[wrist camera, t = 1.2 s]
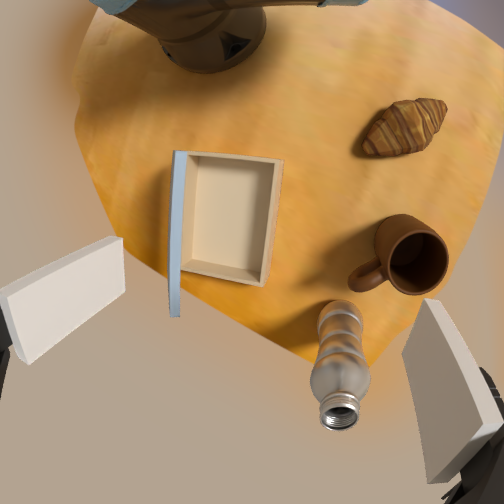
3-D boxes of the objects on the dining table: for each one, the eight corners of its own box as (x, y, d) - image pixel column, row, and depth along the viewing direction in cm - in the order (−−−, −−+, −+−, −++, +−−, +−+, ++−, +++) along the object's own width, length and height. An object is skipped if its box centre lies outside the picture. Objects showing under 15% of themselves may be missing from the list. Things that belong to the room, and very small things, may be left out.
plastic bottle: (322, 338, 43) (310, 443, 24) (313, 298, 41) (296, 398, 23) (364, 330, 41) (376, 435, 22) (358, 290, 39) (373, 387, 21)
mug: (355, 289, 40) (361, 323, 31) (334, 240, 38) (335, 263, 30) (432, 254, 35) (457, 280, 27) (414, 203, 34) (438, 216, 26)
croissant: (376, 175, 35) (383, 176, 30) (348, 129, 34) (351, 124, 29) (454, 129, 30) (470, 126, 25) (428, 85, 29) (440, 76, 25)
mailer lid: (181, 150, 35) (173, 150, 35) (187, 151, 24) (175, 151, 24) (174, 270, 40) (167, 270, 40) (179, 317, 29) (170, 317, 29)
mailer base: (198, 151, 39) (185, 150, 36) (284, 160, 37) (279, 159, 33) (190, 260, 44) (178, 269, 41) (269, 276, 42) (263, 287, 38)
